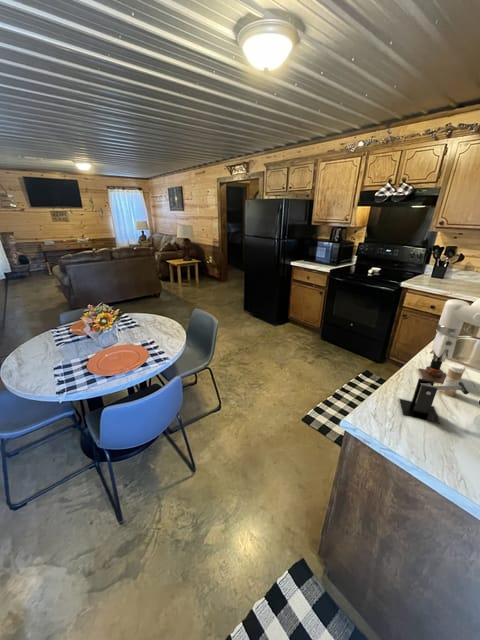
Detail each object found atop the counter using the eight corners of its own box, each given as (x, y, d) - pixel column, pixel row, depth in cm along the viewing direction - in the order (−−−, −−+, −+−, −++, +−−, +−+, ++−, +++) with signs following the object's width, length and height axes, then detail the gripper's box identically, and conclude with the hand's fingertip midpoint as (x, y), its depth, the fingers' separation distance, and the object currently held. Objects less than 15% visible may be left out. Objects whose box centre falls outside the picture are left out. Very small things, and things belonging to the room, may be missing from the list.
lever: (463, 386, 88) (463, 380, 87) (468, 395, 84) (468, 389, 83) (420, 386, 93) (419, 380, 92) (423, 395, 89) (422, 389, 88)
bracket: (432, 409, 96) (443, 380, 91) (439, 426, 89) (451, 395, 84) (398, 401, 100) (407, 373, 95) (402, 417, 92) (411, 387, 87)
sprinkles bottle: (446, 390, 106) (457, 361, 101) (457, 397, 102) (468, 368, 97) (436, 391, 106) (447, 363, 100) (447, 398, 101) (458, 369, 96)
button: (437, 370, 115) (438, 367, 114) (439, 374, 112) (440, 370, 111) (428, 368, 116) (430, 365, 115) (430, 372, 113) (431, 369, 113)
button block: (443, 375, 116) (446, 368, 115) (449, 386, 109) (452, 379, 107) (417, 370, 119) (419, 364, 118) (421, 381, 112) (424, 374, 111)
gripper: (466, 339, 99) (450, 379, 106) (453, 324, 111) (440, 361, 119) (442, 335, 101) (428, 375, 108) (432, 321, 114) (420, 357, 121)
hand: (434, 367), depth 113 cm, fingers closed
